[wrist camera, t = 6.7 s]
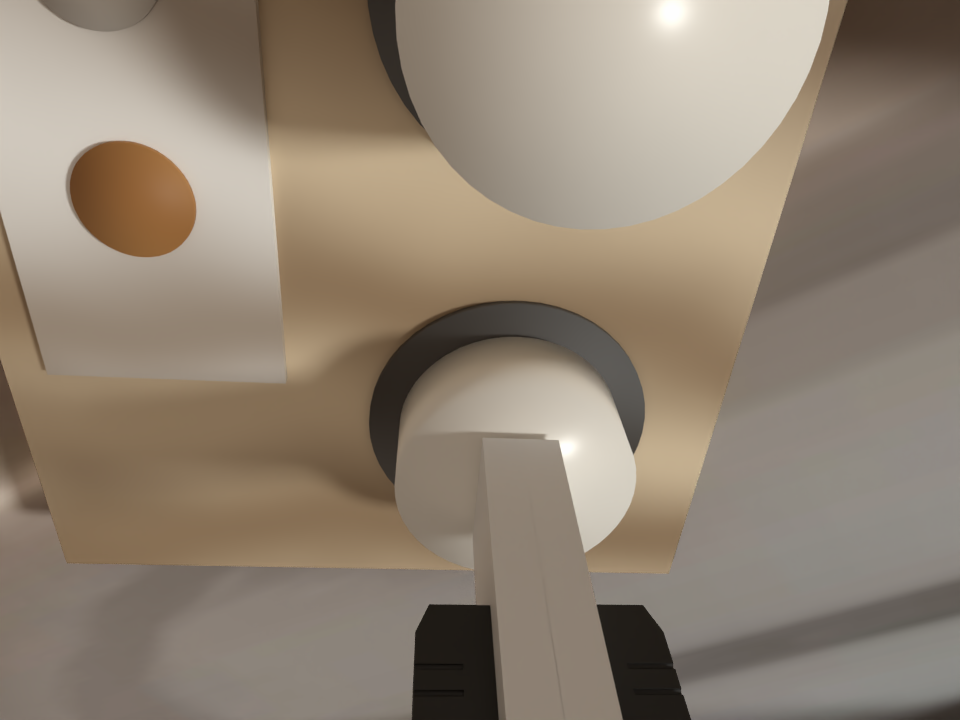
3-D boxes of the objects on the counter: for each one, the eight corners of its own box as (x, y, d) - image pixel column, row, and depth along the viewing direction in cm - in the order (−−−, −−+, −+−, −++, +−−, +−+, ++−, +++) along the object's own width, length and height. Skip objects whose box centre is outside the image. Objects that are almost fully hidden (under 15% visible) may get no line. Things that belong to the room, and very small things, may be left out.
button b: (712, 192, 11) (760, 240, 10) (400, 172, 11) (392, 218, 9) (812, -201, 9) (902, -231, 7) (407, -246, 8) (399, -289, 7)
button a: (596, 513, 18) (613, 575, 16) (397, 508, 17) (392, 571, 16) (635, 341, 15) (659, 394, 14) (401, 331, 15) (396, 384, 13)
